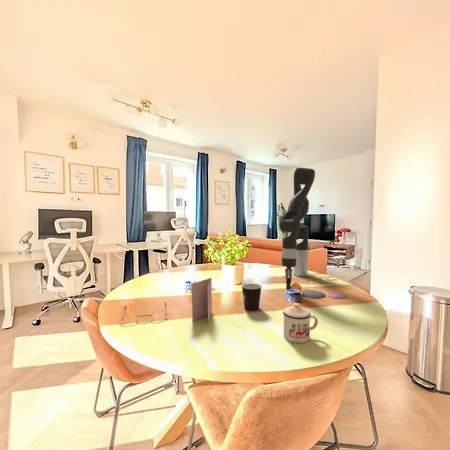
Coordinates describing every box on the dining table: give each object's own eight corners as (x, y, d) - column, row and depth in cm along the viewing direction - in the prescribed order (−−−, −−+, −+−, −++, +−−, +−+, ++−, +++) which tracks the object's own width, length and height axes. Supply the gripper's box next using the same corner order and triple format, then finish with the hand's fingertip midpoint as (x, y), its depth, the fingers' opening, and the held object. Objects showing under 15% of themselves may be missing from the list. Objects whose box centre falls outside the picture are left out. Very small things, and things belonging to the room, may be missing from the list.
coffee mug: (260, 312, 111) (260, 289, 110) (240, 311, 112) (240, 288, 112) (262, 302, 122) (262, 282, 121) (244, 301, 124) (244, 281, 123)
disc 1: (298, 289, 142) (298, 289, 142) (323, 291, 139) (323, 290, 139) (299, 297, 129) (299, 297, 129) (327, 299, 126) (327, 298, 126)
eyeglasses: (120, 325, 101) (120, 315, 100) (125, 309, 119) (125, 300, 119) (168, 319, 105) (167, 310, 105) (165, 304, 124) (165, 296, 123)
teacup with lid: (287, 344, 84) (288, 309, 83) (279, 331, 93) (279, 299, 92) (323, 342, 85) (323, 308, 84) (311, 330, 94) (312, 298, 93)
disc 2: (326, 292, 136) (326, 292, 136) (344, 293, 134) (344, 293, 134) (329, 298, 128) (329, 297, 128) (348, 299, 125) (348, 299, 125)
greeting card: (210, 311, 112) (209, 277, 111) (223, 315, 107) (223, 280, 107) (190, 320, 103) (190, 283, 102) (204, 325, 99) (203, 286, 98)
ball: (291, 280, 138) (302, 281, 136) (290, 290, 139) (301, 291, 137) (290, 285, 132) (301, 286, 131) (289, 295, 134) (301, 296, 132)
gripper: (296, 259, 128) (296, 293, 129) (296, 255, 141) (295, 286, 142) (281, 258, 130) (280, 292, 130) (282, 254, 143) (281, 285, 143)
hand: (288, 289), depth 136 cm, fingers closed
